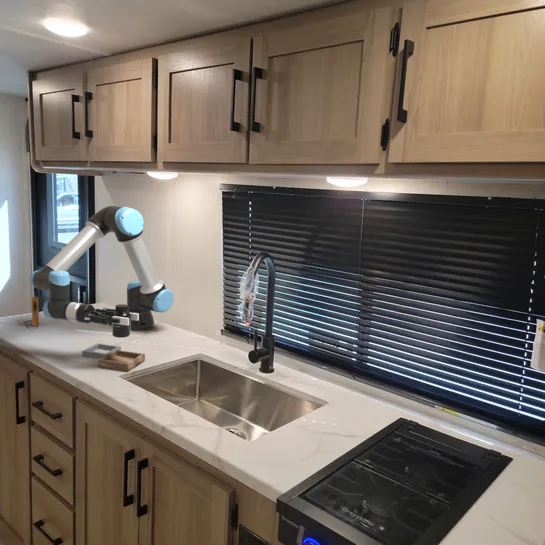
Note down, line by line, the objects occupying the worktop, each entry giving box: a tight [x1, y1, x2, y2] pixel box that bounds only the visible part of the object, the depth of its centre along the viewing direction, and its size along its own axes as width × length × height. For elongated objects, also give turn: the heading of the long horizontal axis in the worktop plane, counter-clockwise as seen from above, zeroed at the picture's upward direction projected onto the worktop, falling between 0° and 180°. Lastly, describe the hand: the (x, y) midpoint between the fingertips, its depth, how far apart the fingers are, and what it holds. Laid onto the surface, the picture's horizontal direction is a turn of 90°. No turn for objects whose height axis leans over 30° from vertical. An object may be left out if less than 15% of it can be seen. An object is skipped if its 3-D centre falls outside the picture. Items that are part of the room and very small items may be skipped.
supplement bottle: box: [111, 303, 131, 339], centre depth 191 cm, size 7×7×12 cm
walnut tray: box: [97, 350, 146, 373], centre depth 194 cm, size 13×13×3 cm
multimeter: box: [18, 287, 40, 329], centre depth 237 cm, size 15×10×20 cm
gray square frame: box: [81, 343, 122, 359], centre depth 205 cm, size 11×11×2 cm
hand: (133, 319), depth 190 cm, fingers closed on supplement bottle, 7 cm apart
